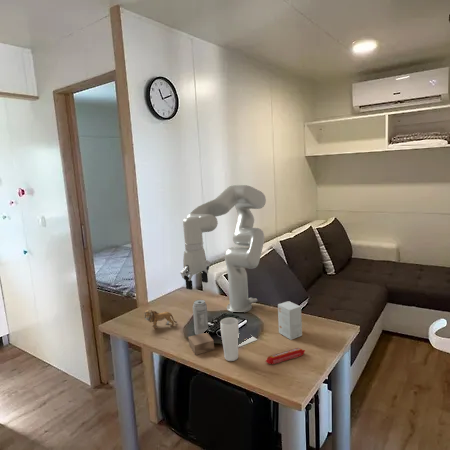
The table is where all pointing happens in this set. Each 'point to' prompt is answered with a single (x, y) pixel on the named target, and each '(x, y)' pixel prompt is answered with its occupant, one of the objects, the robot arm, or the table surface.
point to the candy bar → (285, 356)
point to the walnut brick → (201, 343)
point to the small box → (290, 320)
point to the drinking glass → (230, 338)
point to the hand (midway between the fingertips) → (197, 285)
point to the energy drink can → (200, 316)
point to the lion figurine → (158, 317)
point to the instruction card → (247, 341)
